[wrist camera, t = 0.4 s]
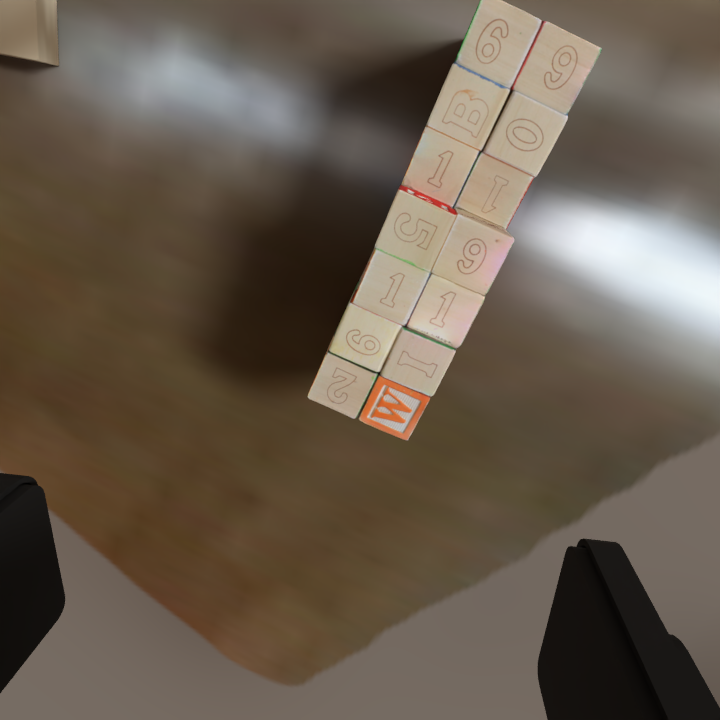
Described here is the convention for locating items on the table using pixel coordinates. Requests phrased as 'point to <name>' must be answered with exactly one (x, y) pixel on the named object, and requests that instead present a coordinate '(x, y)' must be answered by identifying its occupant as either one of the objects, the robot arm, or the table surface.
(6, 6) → the board
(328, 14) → the table surface
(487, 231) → the stack of blocks
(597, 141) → the table surface
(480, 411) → the table surface
